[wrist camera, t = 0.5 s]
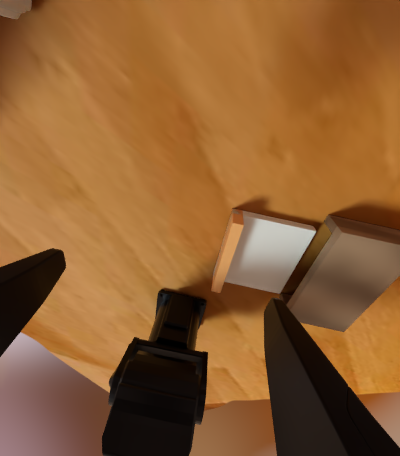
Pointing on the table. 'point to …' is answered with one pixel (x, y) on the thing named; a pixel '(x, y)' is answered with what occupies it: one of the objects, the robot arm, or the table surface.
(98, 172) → the table surface
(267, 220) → the plate
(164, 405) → the robot arm
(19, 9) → the stereo radio cassette player
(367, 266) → the taupe rectangular slab
